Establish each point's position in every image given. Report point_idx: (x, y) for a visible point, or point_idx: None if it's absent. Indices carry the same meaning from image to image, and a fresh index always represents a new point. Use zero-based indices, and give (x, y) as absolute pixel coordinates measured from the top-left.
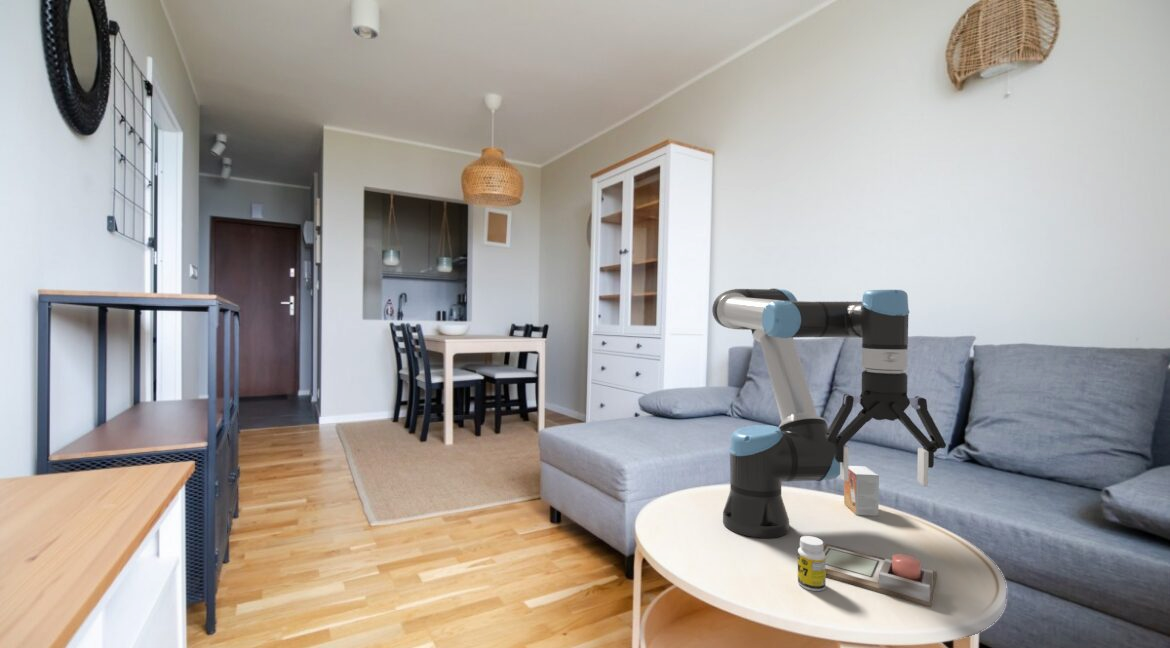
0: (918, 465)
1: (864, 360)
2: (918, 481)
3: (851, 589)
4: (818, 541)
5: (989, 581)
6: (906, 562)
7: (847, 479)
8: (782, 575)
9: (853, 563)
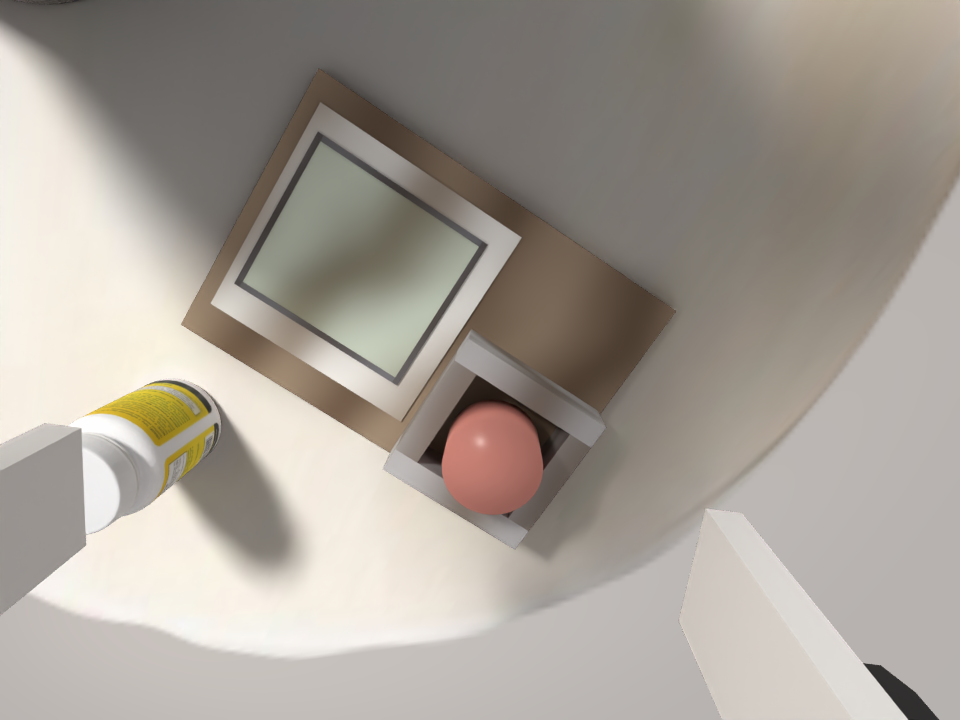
0: (768, 635)
1: None
2: (703, 535)
3: (307, 436)
4: (99, 498)
5: (843, 340)
6: (480, 491)
7: (67, 555)
8: (91, 359)
9: (371, 276)
